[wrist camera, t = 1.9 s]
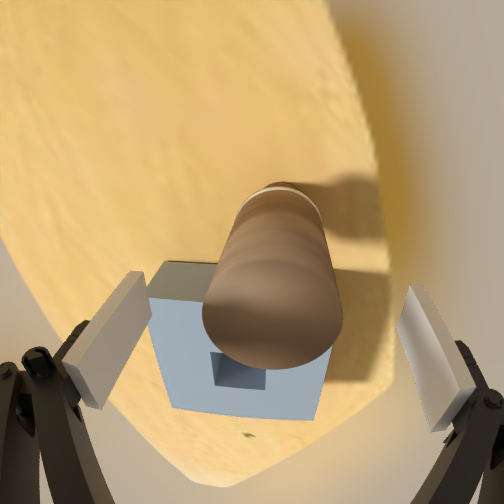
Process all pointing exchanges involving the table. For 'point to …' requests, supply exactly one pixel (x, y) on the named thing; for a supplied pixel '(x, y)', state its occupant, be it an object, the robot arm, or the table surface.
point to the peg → (274, 284)
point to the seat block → (219, 357)
